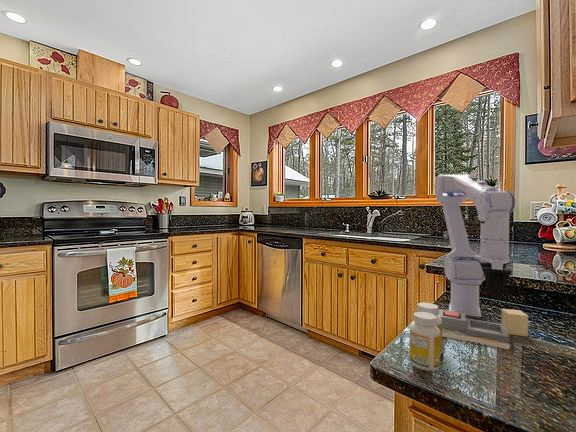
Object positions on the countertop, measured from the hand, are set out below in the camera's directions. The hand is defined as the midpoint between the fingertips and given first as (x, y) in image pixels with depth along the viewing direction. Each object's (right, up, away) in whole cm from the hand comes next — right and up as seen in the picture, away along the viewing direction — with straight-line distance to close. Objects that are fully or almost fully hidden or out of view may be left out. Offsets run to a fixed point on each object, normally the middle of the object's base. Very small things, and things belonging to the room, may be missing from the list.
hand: (493, 293), depth 70 cm
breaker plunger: (-10, -8, 0) cm, 13 cm away
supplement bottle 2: (-25, -10, -15) cm, 31 cm away
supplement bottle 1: (-21, -10, -10) cm, 25 cm away
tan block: (+5, -10, 0) cm, 11 cm away
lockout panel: (-7, -9, -1) cm, 12 cm away
